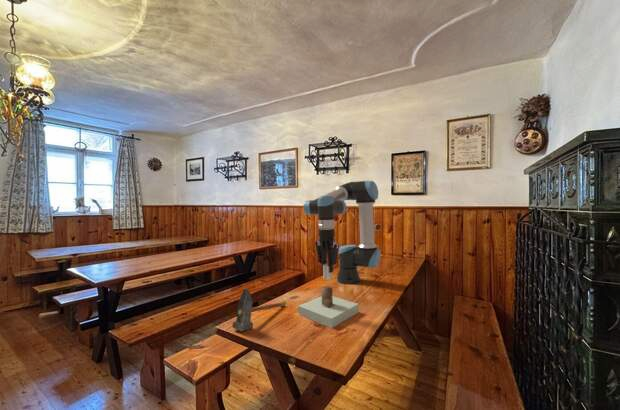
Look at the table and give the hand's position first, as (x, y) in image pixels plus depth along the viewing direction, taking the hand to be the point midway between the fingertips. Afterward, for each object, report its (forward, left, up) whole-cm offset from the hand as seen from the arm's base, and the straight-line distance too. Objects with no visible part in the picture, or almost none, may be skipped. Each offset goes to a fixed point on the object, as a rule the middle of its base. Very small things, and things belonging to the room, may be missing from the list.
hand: (327, 278), depth 121 cm
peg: (0, 0, -16) cm, 16 cm away
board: (0, 0, -16) cm, 16 cm away
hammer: (+23, -20, -17) cm, 35 cm away
